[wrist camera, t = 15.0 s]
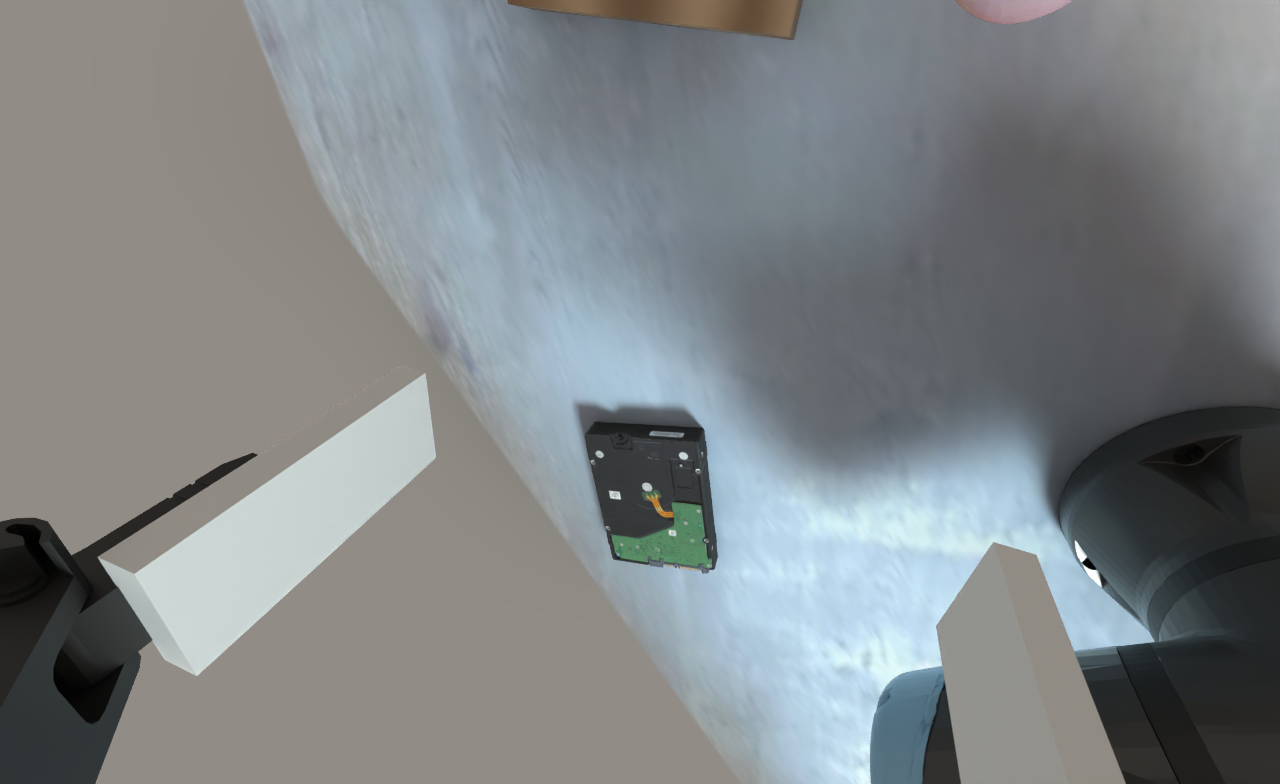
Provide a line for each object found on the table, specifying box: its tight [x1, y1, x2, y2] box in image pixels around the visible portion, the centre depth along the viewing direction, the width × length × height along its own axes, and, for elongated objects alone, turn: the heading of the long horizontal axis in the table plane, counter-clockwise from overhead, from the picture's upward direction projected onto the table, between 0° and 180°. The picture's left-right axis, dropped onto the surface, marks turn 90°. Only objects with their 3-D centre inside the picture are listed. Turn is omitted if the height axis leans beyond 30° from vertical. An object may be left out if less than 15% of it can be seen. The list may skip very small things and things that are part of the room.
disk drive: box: [585, 422, 718, 574], centre depth 48 cm, size 10×3×15 cm
